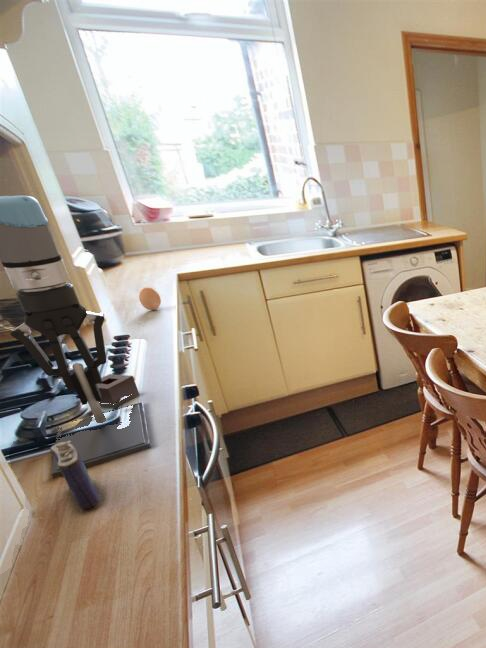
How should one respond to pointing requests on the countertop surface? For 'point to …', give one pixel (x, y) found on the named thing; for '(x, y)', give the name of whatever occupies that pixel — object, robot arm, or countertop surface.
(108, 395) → the holder
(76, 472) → the flask
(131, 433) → the plate
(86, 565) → the countertop surface
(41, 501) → the countertop surface
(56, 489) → the countertop surface
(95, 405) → the stylus
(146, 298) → the egg
